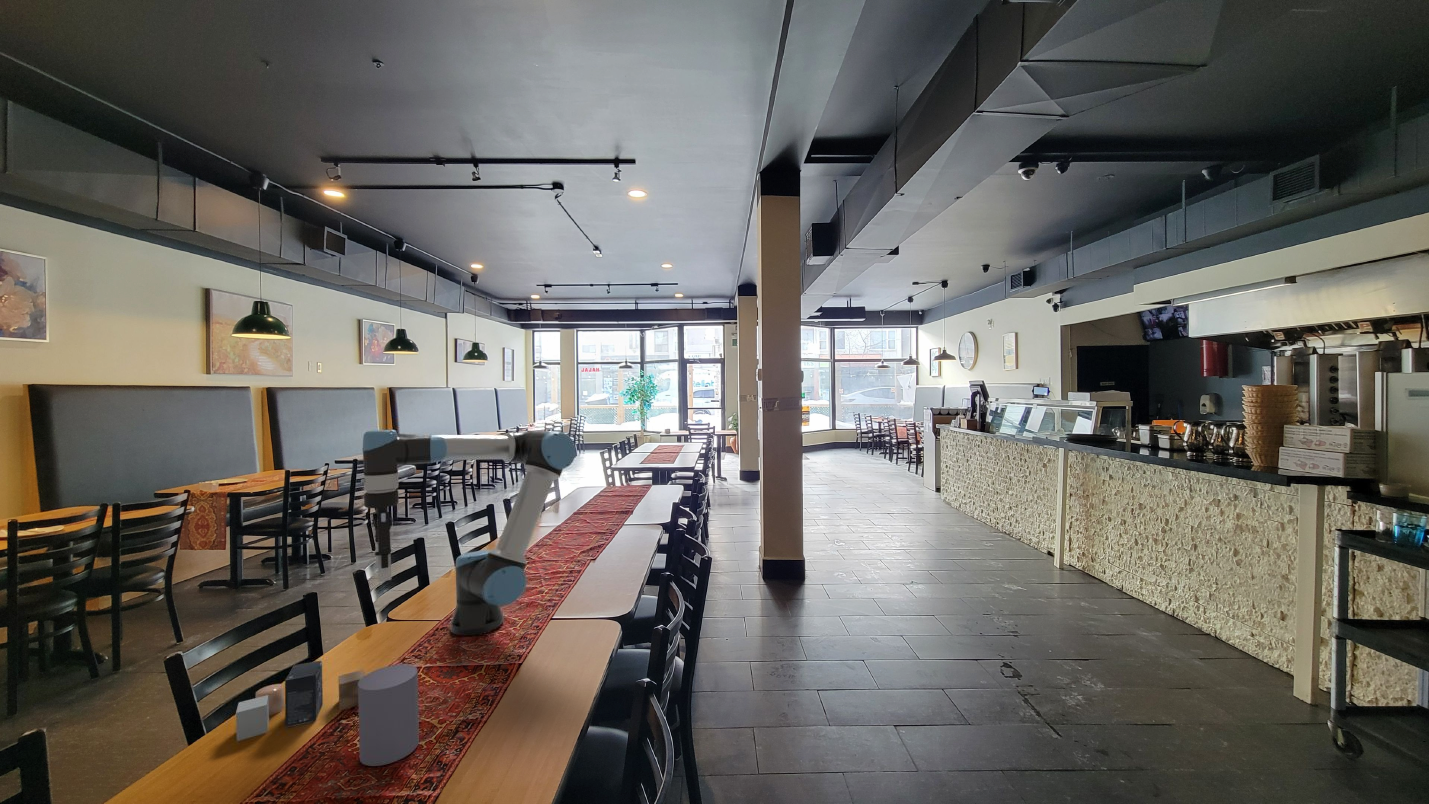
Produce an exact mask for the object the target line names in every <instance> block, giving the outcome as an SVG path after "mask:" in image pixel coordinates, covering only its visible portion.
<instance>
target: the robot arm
mask: <svg viewBox="0 0 1429 804" xmlns="http://www.w3.org/2000/svg"><path fill="white" fill-rule="evenodd" d="M361 450H362V460H363V461H362V462H363V478H361V480H360V482H361V483H362V484H363V490H364V491H365V492H364V494H363V500H364V501H363V505H364V508H366V509H374V510H375V511H374V513H372V522H373V527H374V533H375V535H374V542H375V552H374V557H375V569H377V576H378V577H377V578H378V581H377V582H378V583H380V582H386V581H392V560H391V559H392V556H391V555H392V547H391V533H390V530H391V529H392V524H391V523H392V513H391V511H388V508H389V507H395V506H396V505H398V504H399V502H400V501H399V499H400V498H399V491H398V490H397V489H398V488H399V469H398V468H399V466H405V465H417V464H418V465H420V464H434V463H436V462H437V463H438V462H442V461H460V460H462V461H465V460H468V461H469V460H473V461H474V460H475V461H476V460H477V461H478V460H502V461H503V462H506V463H519V464H524V466H523V467H524V469H525V471H526V474H525V476H524V478H523V481H522V483H521V486H520V488H519V491H518V493H517V496H516V499H515V501H514V503H513V506H512V508H511V511H510V513H509V515H508V518H507V520H506V523H505V525H504V529H503V530H502V533H501V535H500V537H499V540H498V543H497V545H496V547H495V548H493V549H485V550H483V549H482V550H477V551H470V552H467V553H464V554H460V555H459V556H457V558H456V560H455V566H454V569H455V592H456V593H455V594H456V606H455V609H454V612H453V616H452V618H451V621H450V632H451V634H453V635H455V636H460V635H461V636H462V635H465V636H464V637H467V636H466V635H472V636H476V635H475V634H479V635H482V634H481V633H484V632H487V633H489V632H488V631H490V632H492V631H491V630H493V629H495V628H497V627H499V626H500V625H501V624H502V623H504V613H503V611H502V608H501V607H506V606H509V605H511V604H513V603H515V602H516V601H518V599H520V597H522V595H523V594H524V591H525V590H526V587H527V583H528V582H527V581H528V580H527V579H528V578H527V576H526V575H527V574H526V573H525V569H526V567H527V564H528V561H527V559H526V557H525V556H526V553H527V549H528V547H529V545H530V542H531V539H532V537H533V535H534V531H535V529H536V527H537V523H538V522H539V519H540V516H541V514H542V512H543V509H544V506H545V502H546V501H547V499H548V496H549V494H550V493H549V492H550V490H551V488H552V485H553V484H554V483H553V482H554V481H556V480H558V479H560V478H561V475H562V472H563V471H564V469H567V468H568V467H570V466H571V465H572V463H573V462H574V461H575V458H576V446H575V444H574V440H573V439H572V438H571V437H570V436H569V435H568V434H567V433H565V432H562V431H557V430H530V431H522V432H506V433H504V434H503V435H478V434H477V435H473V434H472V435H471V434H470V435H469V434H464V435H463V434H407V433H397V430H395V429H377V430H368V431H366V432H365V433H363V439H362V449H361ZM502 625H503V624H502ZM502 625H501V626H502ZM501 626H500V627H501ZM500 627H499V628H500ZM497 629H498V628H497ZM495 630H496V629H495ZM493 631H494V630H493ZM484 634H485V633H484Z"/></svg>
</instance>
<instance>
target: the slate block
mask: <svg viewBox="0 0 1429 804" xmlns="http://www.w3.org/2000/svg"><path fill="white" fill-rule="evenodd" d="M269 724H270V716H269V700H268V695H266V696H262V697H258V698H256V697H255V698H251V699H247V700H243V701H239V702H238V704H237V708H236V712H235V725H236V726H235V727H236V728H235V729H236V732H235V733H236V742H239V741H242V740H245V739H249V738H252V737H255V736H260V735H263V734H267V733H268V731H269Z"/></svg>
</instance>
